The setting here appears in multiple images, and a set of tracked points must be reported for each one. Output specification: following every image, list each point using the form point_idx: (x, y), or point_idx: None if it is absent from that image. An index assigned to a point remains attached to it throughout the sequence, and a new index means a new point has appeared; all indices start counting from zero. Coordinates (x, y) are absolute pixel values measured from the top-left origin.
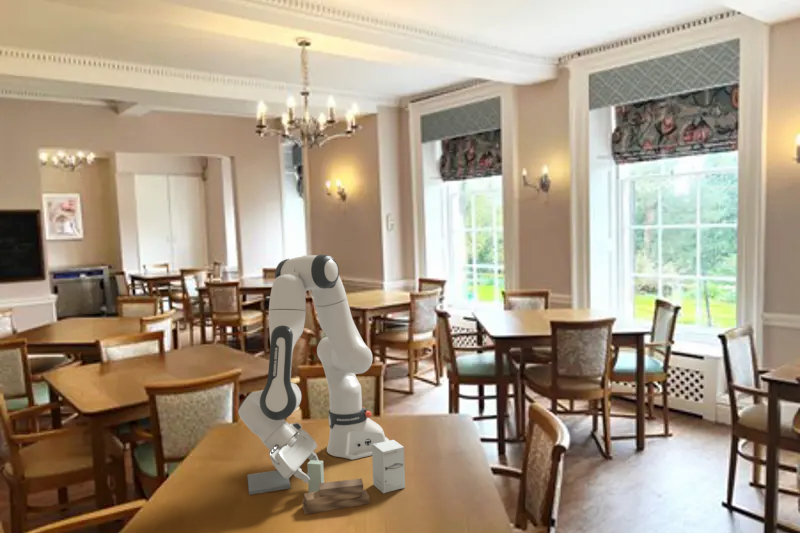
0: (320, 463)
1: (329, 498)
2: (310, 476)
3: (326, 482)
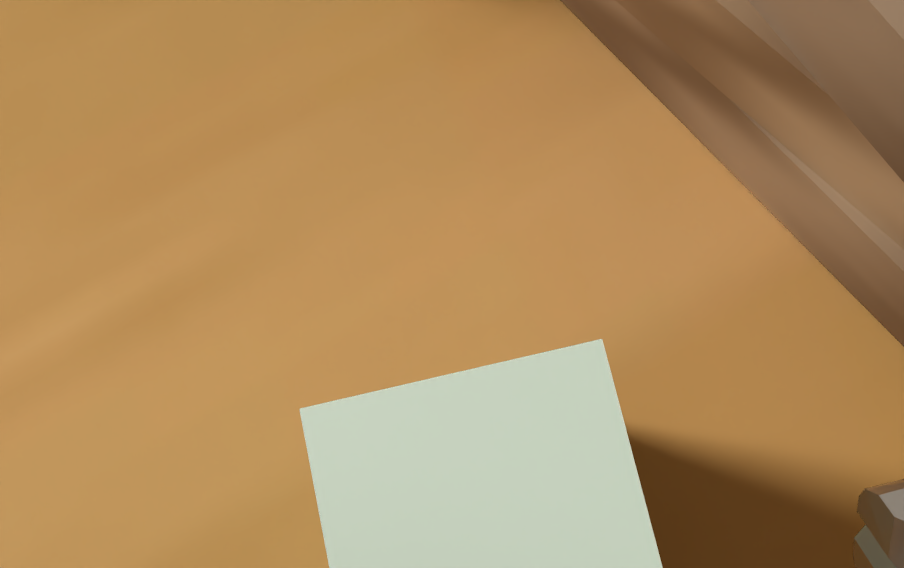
0: (538, 377)
1: None
2: (891, 503)
3: (888, 18)
